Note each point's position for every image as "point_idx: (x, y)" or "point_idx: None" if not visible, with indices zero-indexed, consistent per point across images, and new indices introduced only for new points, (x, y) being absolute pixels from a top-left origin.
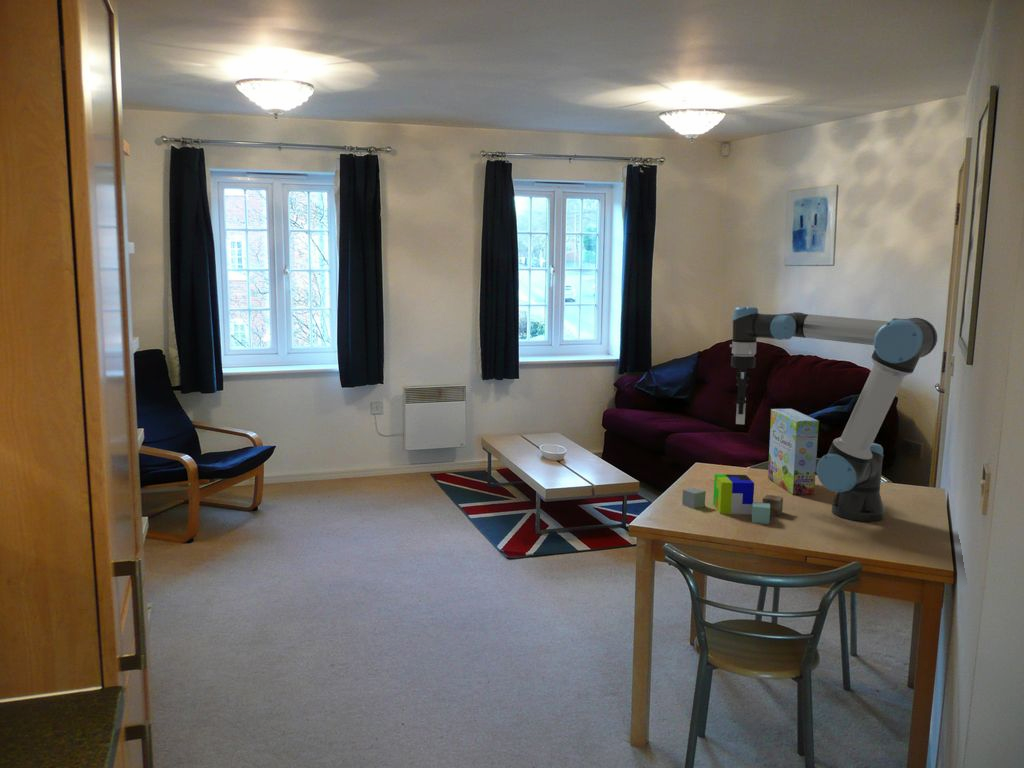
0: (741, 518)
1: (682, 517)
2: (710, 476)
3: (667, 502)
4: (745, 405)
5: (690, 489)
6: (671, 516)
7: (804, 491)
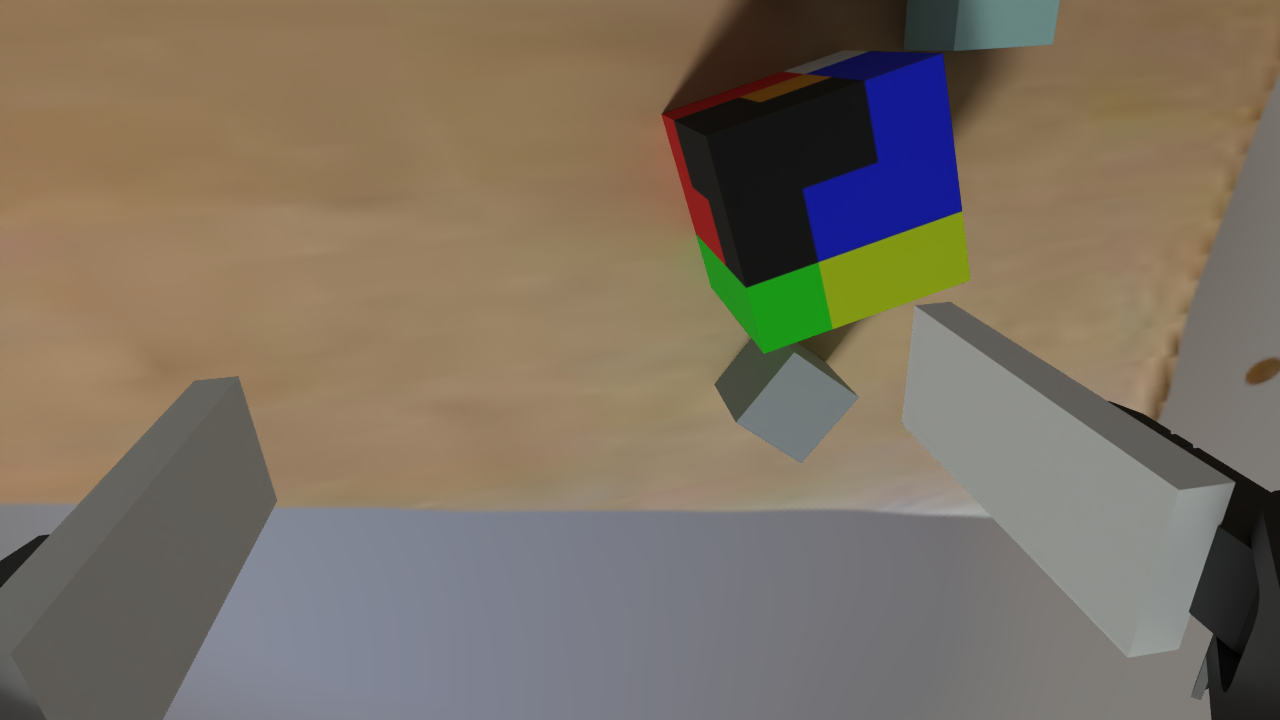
0: None
1: None
2: (64, 397)
3: (756, 488)
4: (134, 502)
5: (779, 431)
6: None
7: None
